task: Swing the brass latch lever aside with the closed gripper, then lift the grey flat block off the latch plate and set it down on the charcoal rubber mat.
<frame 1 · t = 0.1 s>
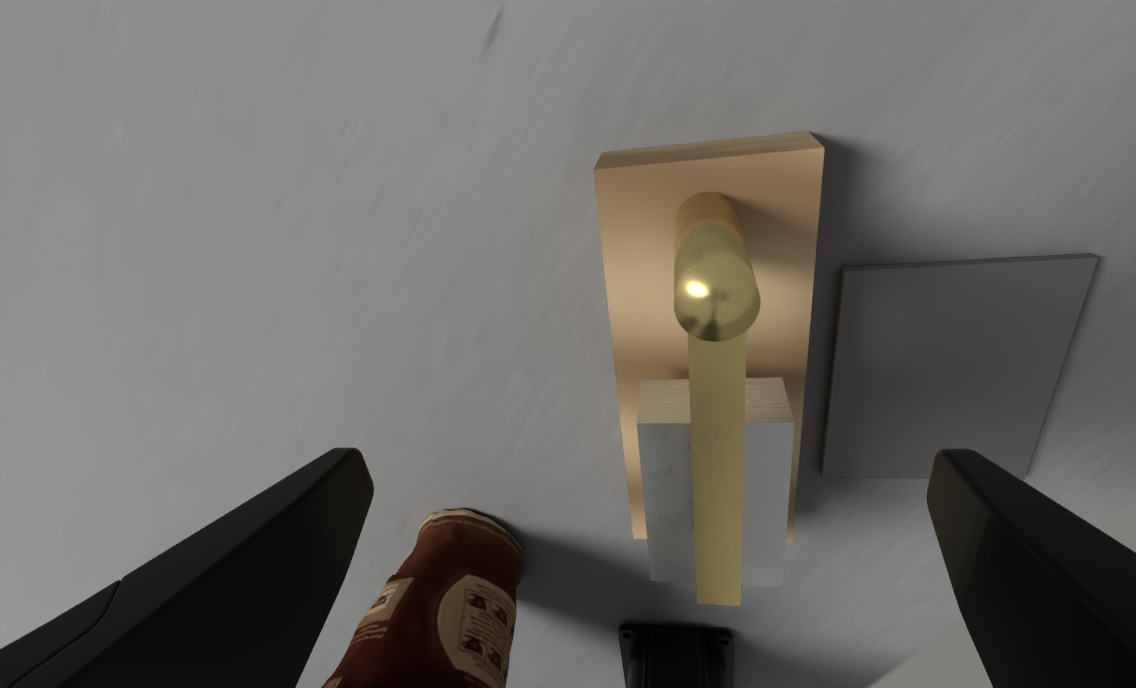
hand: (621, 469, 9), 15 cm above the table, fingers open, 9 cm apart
mat: (936, 377, 23), on the table
grey flat block: (710, 462, 22), point 4 cm above the table, touching latch plate
brown jar: (475, 544, 33), on the table
latch plate: (705, 352, 24), on the table
latch lever: (712, 401, 19), point 6 cm above the table, hinge at 0.0°
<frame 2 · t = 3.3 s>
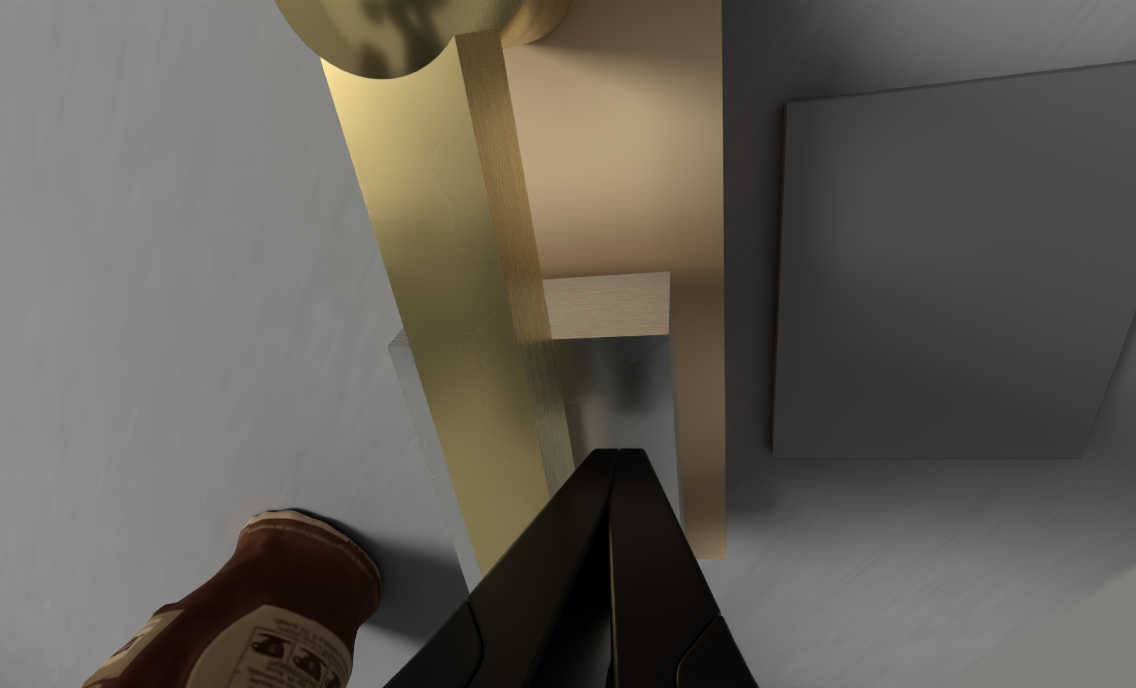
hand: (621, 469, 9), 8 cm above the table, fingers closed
mat: (944, 294, 15), on the table
grey flat block: (574, 429, 14), point 4 cm above the table, touching latch plate
brown jar: (319, 557, 25), on the table
latch plate: (584, 263, 16), on the table
latch lever: (529, 306, 10), point 6 cm above the table, hinge at 0.0°, touching gripper
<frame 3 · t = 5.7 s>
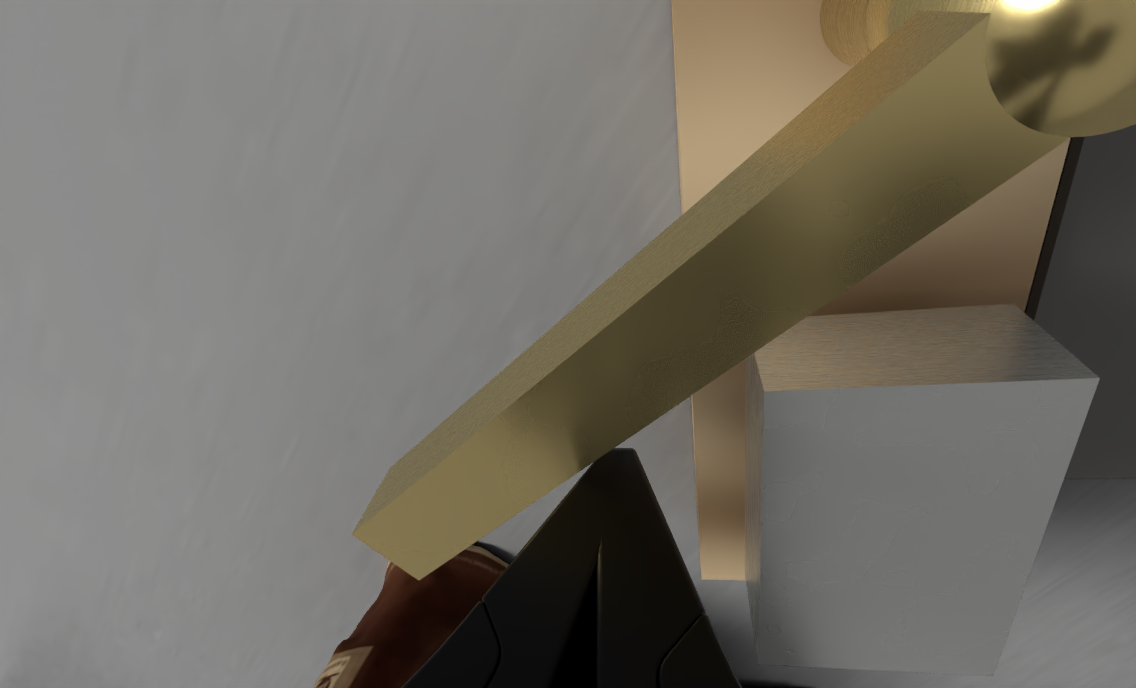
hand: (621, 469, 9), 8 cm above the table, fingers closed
grey flat block: (855, 462, 13), point 4 cm above the table, touching latch plate
brown jar: (465, 583, 24), on the table
latch plate: (821, 286, 15), on the table
latch lever: (659, 258, 10), point 6 cm above the table, hinge at -52.4°, touching gripper
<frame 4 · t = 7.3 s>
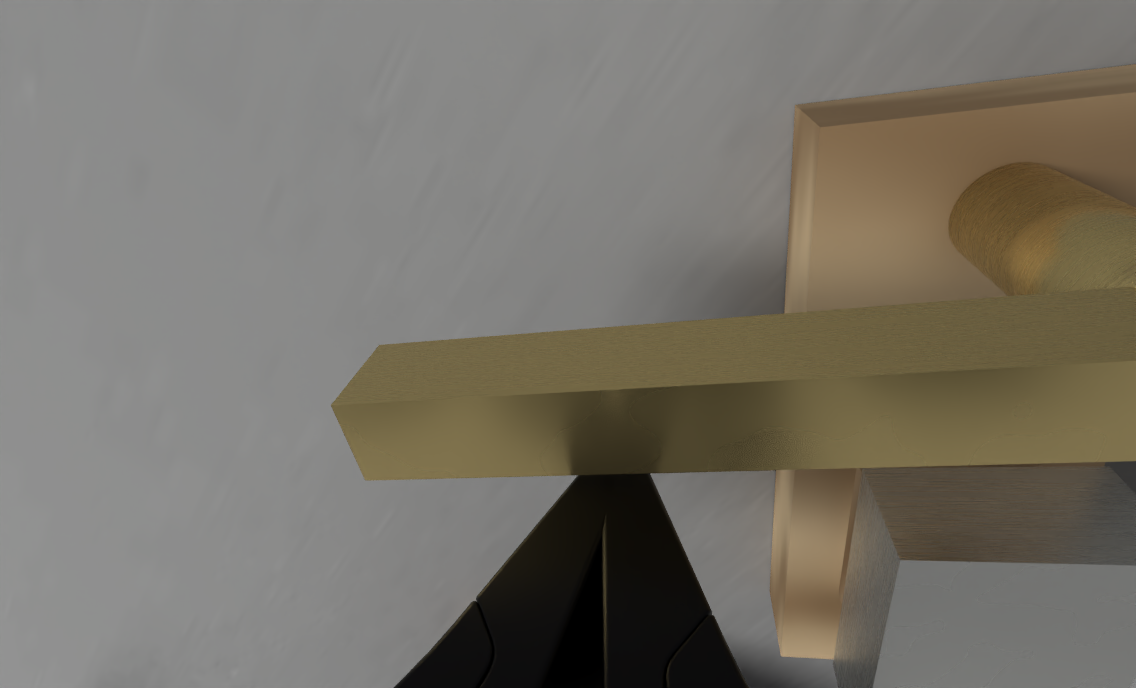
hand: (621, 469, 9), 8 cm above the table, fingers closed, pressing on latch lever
grey flat block: (948, 581, 15), point 4 cm above the table, touching latch plate
latch plate: (907, 404, 17), on the table
latch lever: (756, 310, 10), point 6 cm above the table, hinge at -88.4°, touching gripper
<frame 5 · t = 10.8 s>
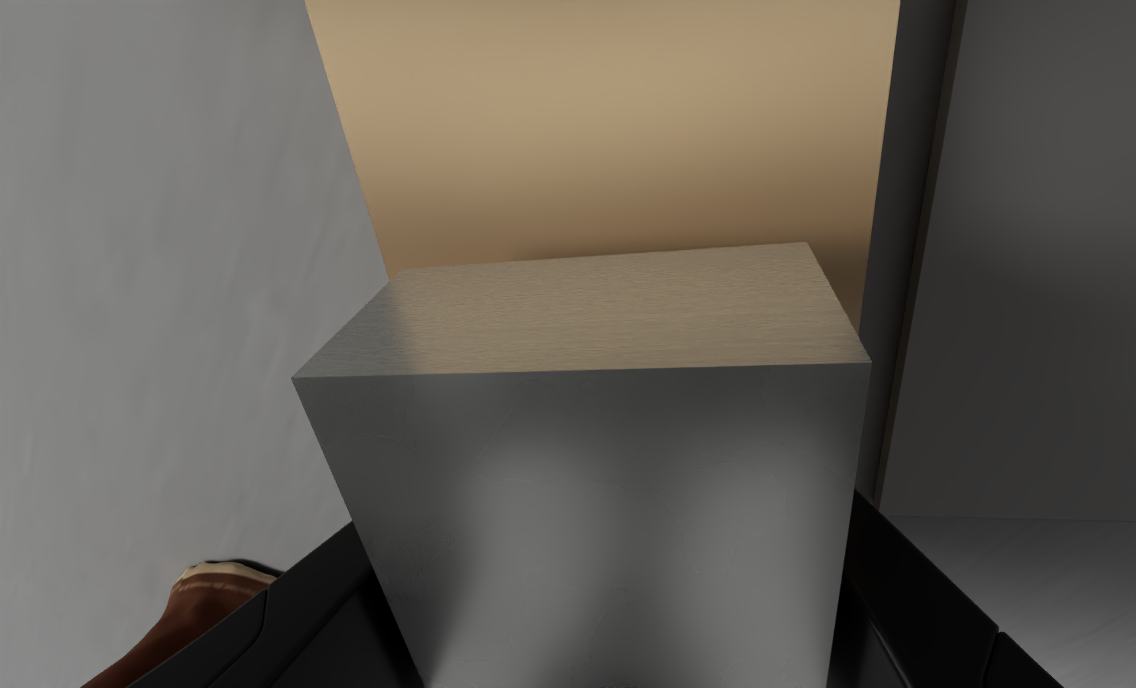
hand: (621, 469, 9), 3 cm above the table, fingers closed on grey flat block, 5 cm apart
grey flat block: (619, 495, 9), point 4 cm above the table, touching gripper, latch plate
brown jar: (274, 616, 20), on the table
latch plate: (625, 242, 11), on the table
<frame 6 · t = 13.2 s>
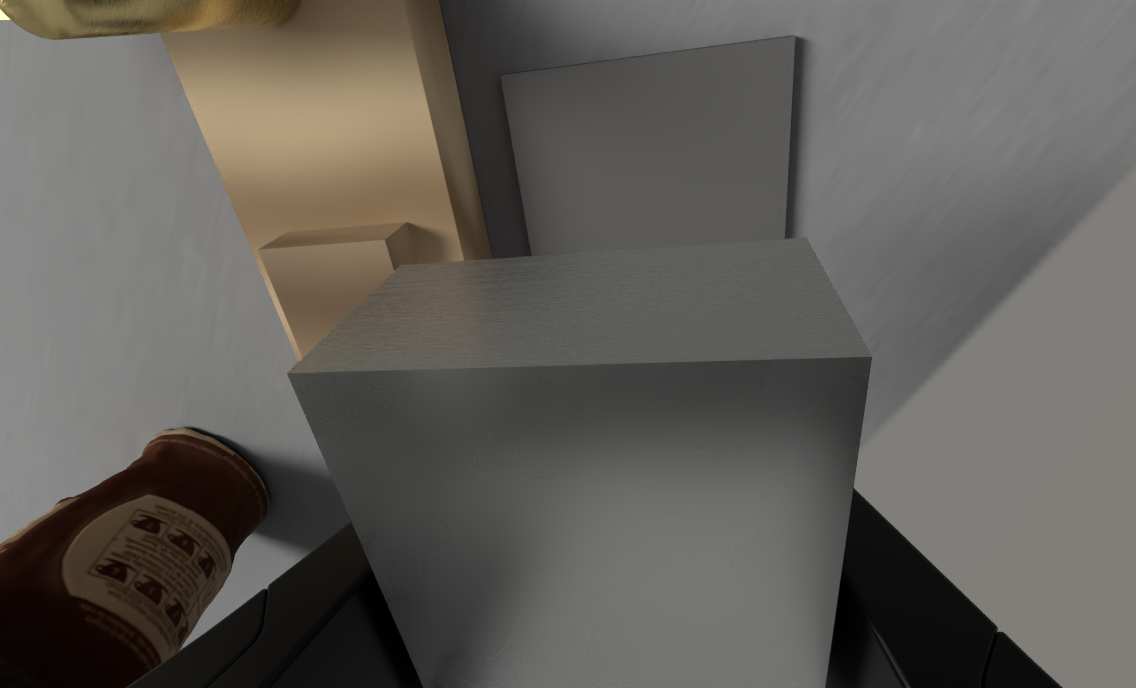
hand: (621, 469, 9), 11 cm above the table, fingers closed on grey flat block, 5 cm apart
mat: (652, 228, 19), on the table
grey flat block: (618, 492, 9), point 12 cm above the table, touching gripper
brown jar: (216, 474, 29), on the table
latch plate: (382, 205, 20), on the table
when the fingers open (1 cm above the table, at t = 15.2 s): grey flat block drops 2 cm, resting on mat.
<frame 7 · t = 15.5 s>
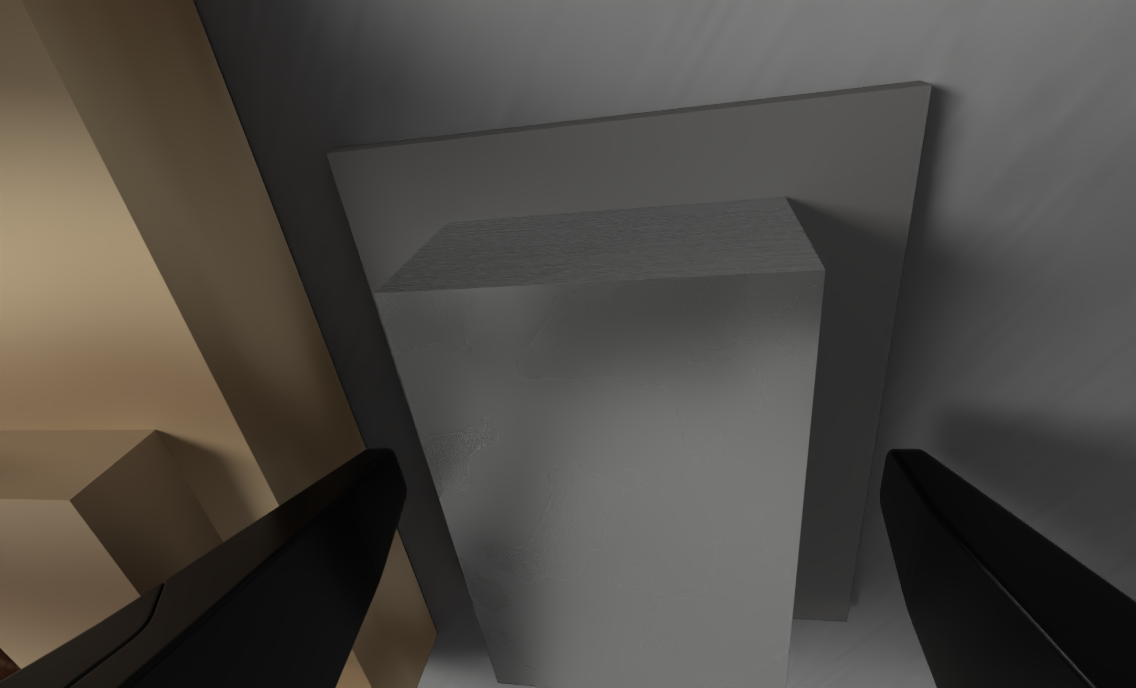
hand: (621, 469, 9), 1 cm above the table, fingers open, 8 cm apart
mat: (629, 411, 10), on the table
grey flat block: (627, 423, 10), resting on mat
brown jar: (28, 667, 20), on the table
latch plate: (169, 355, 12), on the table
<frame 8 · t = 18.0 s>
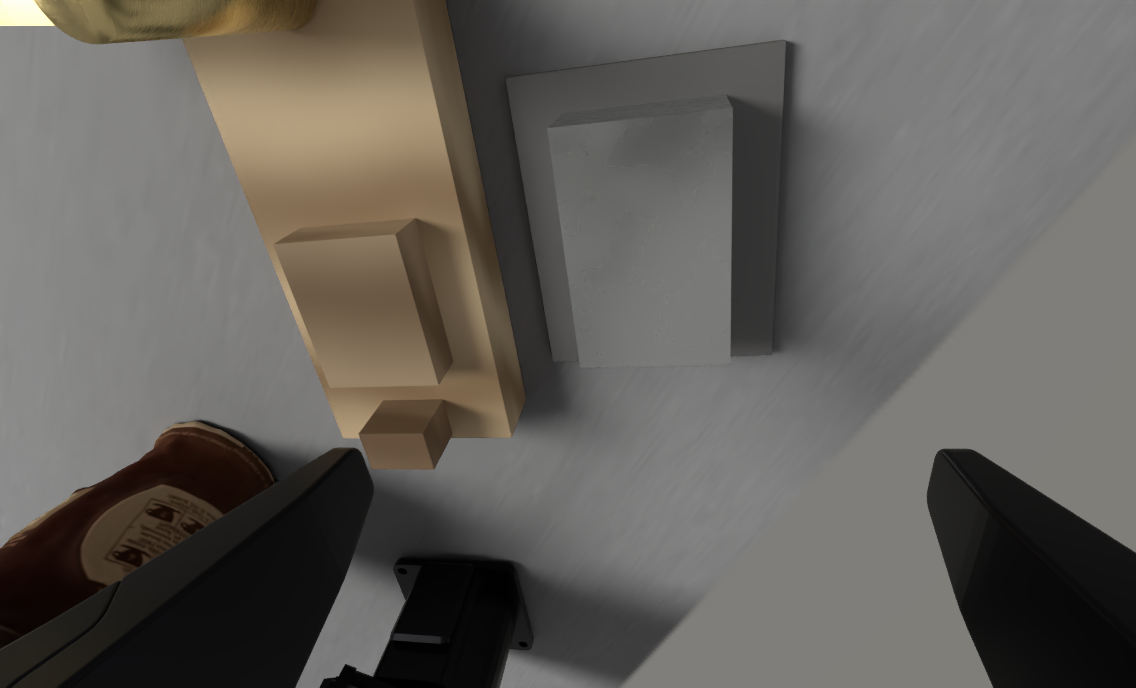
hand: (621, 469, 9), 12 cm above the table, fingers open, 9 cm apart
mat: (650, 224, 19), on the table
grey flat block: (649, 227, 19), resting on mat
brown jar: (225, 466, 29), on the table
latch plate: (390, 202, 21), on the table
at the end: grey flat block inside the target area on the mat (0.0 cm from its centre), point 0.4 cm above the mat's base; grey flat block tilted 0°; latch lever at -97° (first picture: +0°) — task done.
